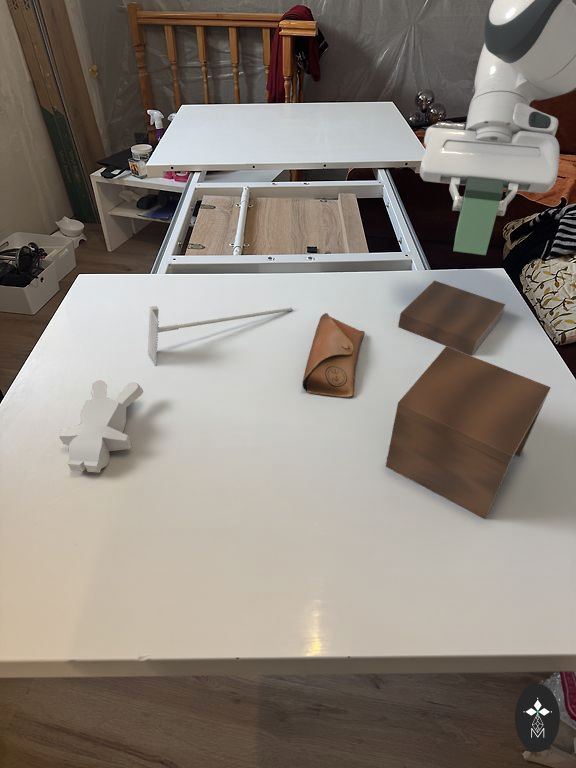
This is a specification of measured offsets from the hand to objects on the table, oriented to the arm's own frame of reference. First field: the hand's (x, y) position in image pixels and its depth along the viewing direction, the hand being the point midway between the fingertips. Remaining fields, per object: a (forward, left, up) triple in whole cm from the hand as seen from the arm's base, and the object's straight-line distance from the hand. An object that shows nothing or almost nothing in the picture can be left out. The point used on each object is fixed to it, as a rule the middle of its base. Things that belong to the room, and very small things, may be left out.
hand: (478, 211), depth 83 cm
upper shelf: (-14, +29, -21) cm, 39 cm away
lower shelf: (0, -1, -21) cm, 21 cm away
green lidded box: (0, -1, -6) cm, 6 cm away
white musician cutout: (+28, +55, -22) cm, 66 cm away
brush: (+31, +27, -22) cm, 47 cm away
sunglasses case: (+11, +21, -22) cm, 32 cm away
